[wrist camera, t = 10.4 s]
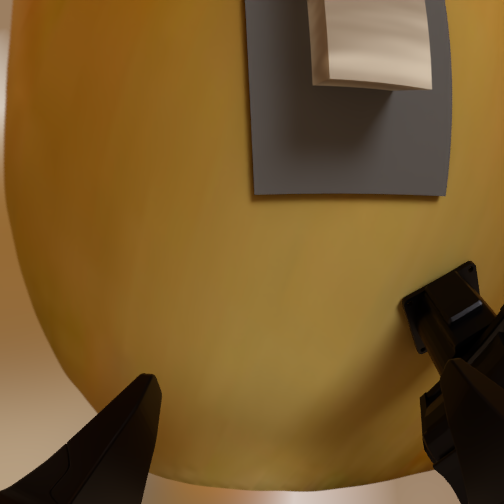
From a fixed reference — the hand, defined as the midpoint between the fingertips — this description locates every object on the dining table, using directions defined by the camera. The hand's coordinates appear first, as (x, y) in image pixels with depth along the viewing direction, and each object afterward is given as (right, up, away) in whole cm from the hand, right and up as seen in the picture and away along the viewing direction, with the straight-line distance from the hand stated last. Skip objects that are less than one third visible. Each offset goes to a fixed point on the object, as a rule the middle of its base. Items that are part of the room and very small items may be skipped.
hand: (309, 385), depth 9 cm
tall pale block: (+4, +12, +4) cm, 13 cm away
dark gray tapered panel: (+4, +16, +6) cm, 17 cm away
